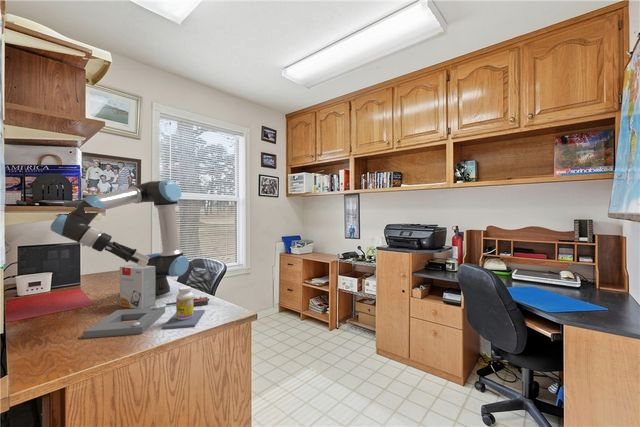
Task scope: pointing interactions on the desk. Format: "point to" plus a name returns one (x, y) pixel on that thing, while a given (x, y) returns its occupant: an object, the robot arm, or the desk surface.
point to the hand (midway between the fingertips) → (147, 262)
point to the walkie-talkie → (196, 301)
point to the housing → (115, 327)
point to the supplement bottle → (184, 303)
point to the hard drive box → (137, 286)
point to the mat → (184, 321)
